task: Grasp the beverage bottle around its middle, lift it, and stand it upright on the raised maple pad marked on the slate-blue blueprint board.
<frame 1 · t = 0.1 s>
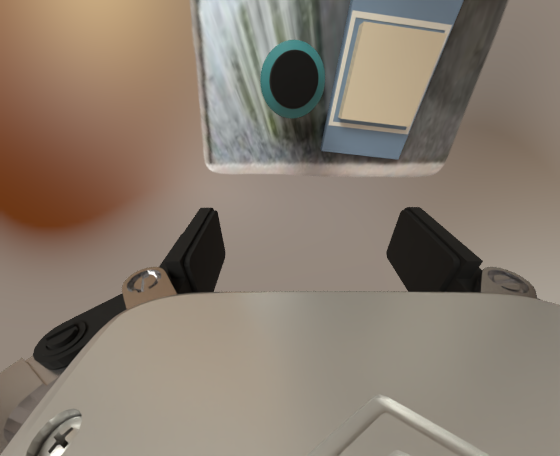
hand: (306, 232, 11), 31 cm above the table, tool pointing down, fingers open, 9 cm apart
blueprint board: (379, 80, 33), on the table
beverage bottle: (288, 84, 33), on the table
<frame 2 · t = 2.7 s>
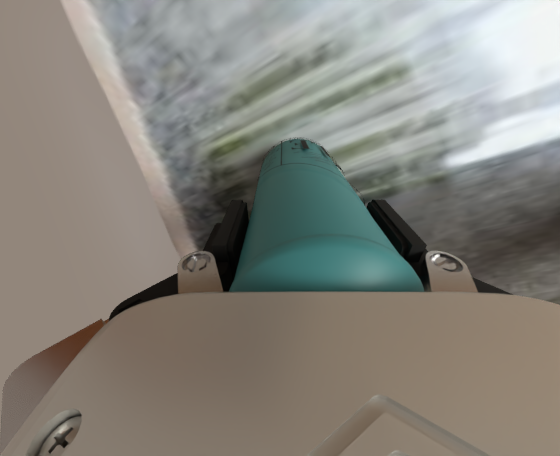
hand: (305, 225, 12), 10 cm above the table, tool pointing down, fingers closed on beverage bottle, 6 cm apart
beverage bottle: (295, 168, 20), on the table, touching gripper
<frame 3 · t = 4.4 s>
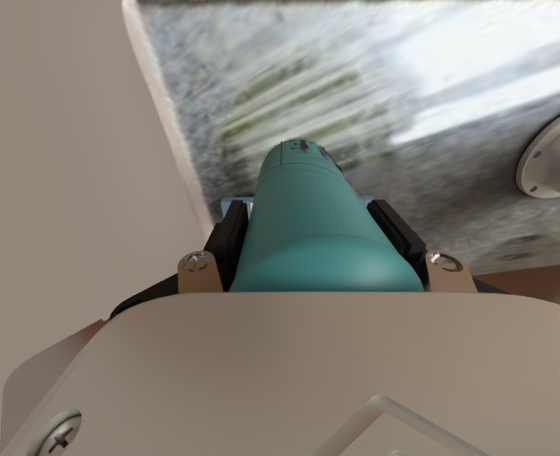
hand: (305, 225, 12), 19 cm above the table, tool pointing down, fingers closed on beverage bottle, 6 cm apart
blueprint board: (295, 235, 35), on the table
beverage bottle: (295, 168, 20), point 9 cm above the table, touching gripper
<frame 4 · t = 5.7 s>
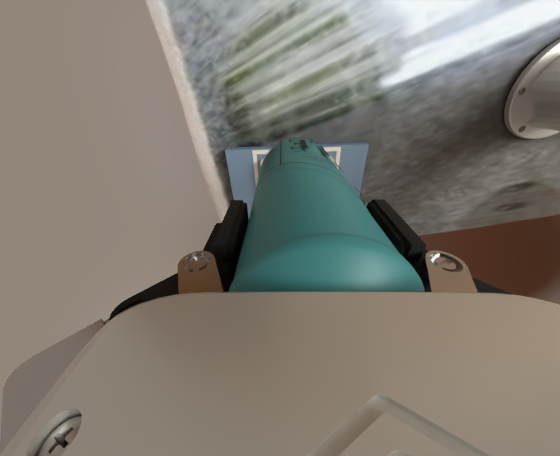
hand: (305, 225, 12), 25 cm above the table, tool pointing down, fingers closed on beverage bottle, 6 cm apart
blueprint board: (295, 186, 37), on the table
beverage bottle: (294, 168, 20), point 16 cm above the table, touching gripper
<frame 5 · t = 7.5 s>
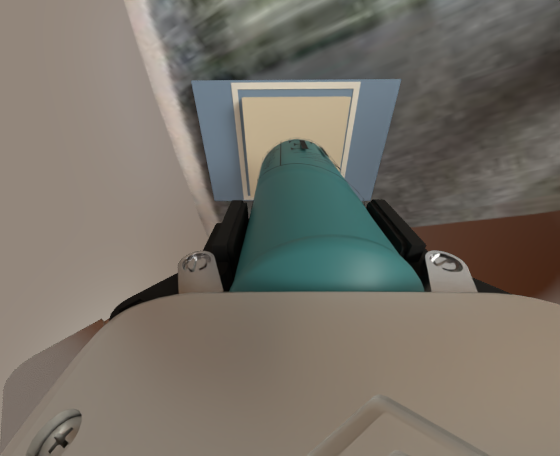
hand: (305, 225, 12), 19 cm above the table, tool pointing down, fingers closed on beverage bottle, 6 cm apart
blueprint board: (293, 146, 27), on the table
beverage bottle: (294, 168, 20), point 9 cm above the table, touching gripper
when the fingers open (14 cm above the table, at t = 8.8 s): beverage bottle drops 1 cm, resting on blueprint board.
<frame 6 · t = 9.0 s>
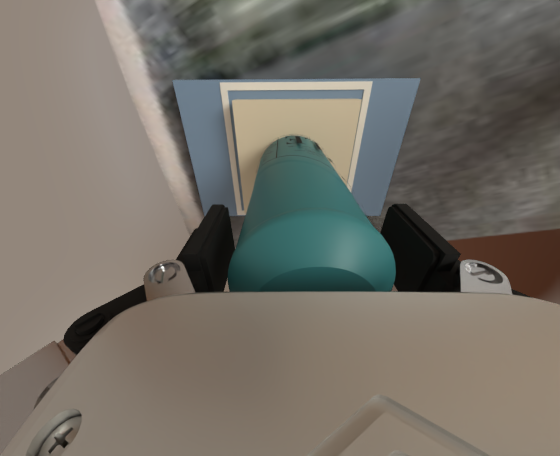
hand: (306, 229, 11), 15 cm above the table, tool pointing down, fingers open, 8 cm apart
blueprint board: (292, 155, 24), on the table
beverage bottle: (292, 163, 21), point 3 cm above the table, touching blueprint board
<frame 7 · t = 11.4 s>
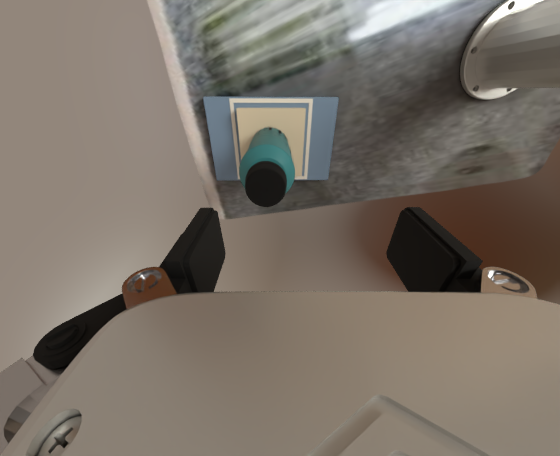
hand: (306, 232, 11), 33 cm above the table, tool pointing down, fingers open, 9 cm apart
blueprint board: (272, 141, 39), on the table
beverage bottle: (270, 144, 36), point 3 cm above the table, touching blueprint board
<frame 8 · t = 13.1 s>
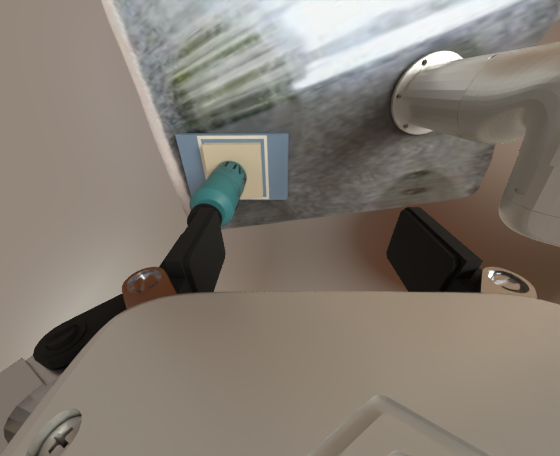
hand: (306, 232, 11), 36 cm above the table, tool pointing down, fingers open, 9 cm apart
blueprint board: (237, 167, 46), on the table
beverage bottle: (233, 172, 43), point 3 cm above the table, touching blueprint board
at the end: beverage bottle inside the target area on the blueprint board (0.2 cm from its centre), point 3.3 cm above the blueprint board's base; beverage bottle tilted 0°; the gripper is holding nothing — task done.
